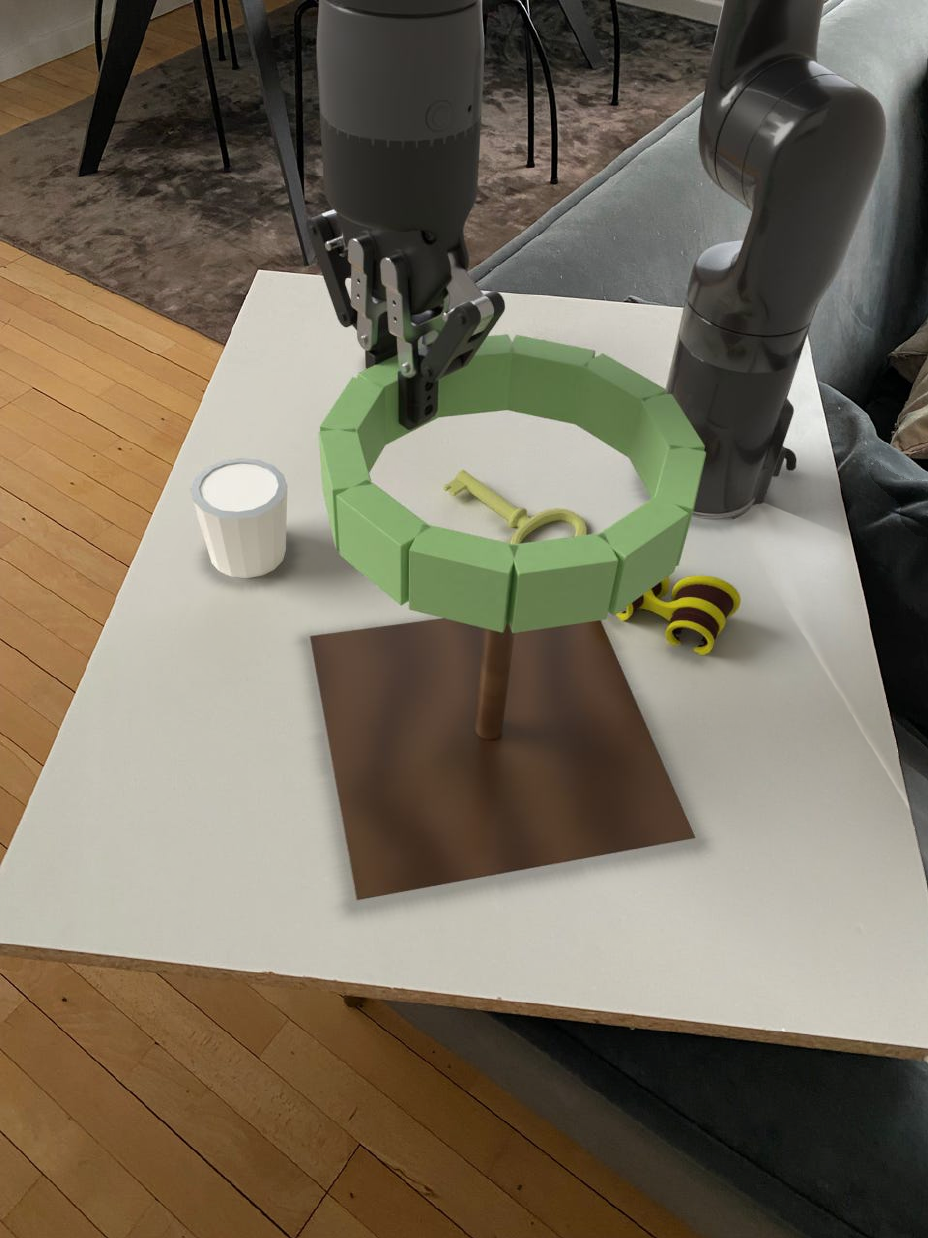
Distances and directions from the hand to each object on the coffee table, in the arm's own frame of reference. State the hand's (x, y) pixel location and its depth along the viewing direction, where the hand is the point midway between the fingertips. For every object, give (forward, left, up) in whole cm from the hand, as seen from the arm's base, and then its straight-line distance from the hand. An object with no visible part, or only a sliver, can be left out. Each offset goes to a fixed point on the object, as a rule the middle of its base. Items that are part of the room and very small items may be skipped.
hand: (401, 410), depth 61 cm
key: (-11, -10, -20) cm, 25 cm away
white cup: (+10, -10, -20) cm, 25 cm away
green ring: (-4, +8, -1) cm, 9 cm away
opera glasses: (-19, +2, -20) cm, 28 cm away
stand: (-4, +10, -20) cm, 22 cm away
